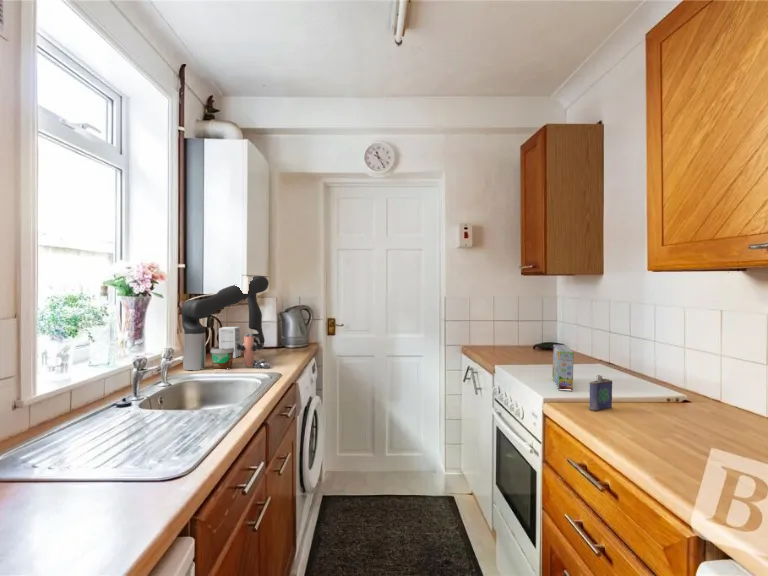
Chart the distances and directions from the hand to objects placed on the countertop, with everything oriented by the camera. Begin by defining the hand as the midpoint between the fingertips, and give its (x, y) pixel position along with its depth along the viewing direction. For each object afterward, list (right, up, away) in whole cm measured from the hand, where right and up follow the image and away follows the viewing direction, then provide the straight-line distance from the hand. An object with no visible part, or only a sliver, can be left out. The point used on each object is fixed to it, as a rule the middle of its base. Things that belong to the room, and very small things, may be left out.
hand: (248, 348), depth 198 cm
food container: (-14, -10, -1) cm, 17 cm away
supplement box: (-22, -10, +35) cm, 42 cm away
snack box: (+137, -10, -34) cm, 141 cm away
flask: (+135, -10, -67) cm, 151 cm away
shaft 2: (+6, -10, +1) cm, 12 cm away
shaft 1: (+2, -10, +9) cm, 14 cm away
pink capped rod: (-1, -8, +3) cm, 9 cm away
